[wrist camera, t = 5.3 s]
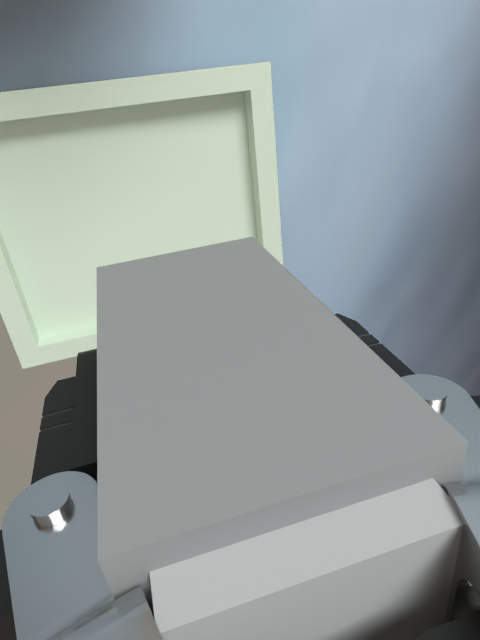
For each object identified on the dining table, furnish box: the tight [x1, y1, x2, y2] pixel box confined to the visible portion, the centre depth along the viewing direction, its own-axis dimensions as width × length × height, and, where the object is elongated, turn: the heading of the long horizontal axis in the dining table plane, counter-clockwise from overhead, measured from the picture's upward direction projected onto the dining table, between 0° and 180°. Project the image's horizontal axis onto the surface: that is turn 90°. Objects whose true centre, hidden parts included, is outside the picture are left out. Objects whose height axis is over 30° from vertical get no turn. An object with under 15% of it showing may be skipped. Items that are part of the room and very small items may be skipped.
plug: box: [96, 237, 468, 640], centre depth 9 cm, size 4×4×9 cm
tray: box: [0, 62, 283, 369], centre depth 22 cm, size 14×12×2 cm
